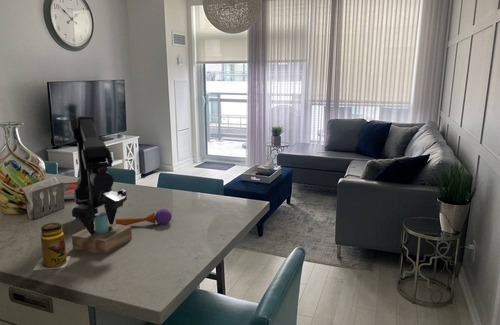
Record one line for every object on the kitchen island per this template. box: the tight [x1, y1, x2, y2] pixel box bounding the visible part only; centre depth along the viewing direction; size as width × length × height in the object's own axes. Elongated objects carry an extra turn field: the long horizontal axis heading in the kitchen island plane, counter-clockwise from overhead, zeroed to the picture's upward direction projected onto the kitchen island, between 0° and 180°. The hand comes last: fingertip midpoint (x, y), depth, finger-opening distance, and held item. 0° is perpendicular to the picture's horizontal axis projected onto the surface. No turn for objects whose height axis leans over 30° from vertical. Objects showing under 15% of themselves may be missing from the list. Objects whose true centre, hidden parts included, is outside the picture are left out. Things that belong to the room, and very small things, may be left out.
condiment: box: [33, 222, 71, 271], centre depth 110 cm, size 7×8×12 cm
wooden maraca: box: [115, 208, 172, 226], centre depth 141 cm, size 6×6×20 cm
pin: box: [94, 212, 109, 235], centre depth 124 cm, size 4×4×9 cm
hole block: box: [71, 222, 133, 255], centre depth 125 cm, size 13×13×4 cm
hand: (102, 229), depth 124 cm, fingers open, 9 cm apart
